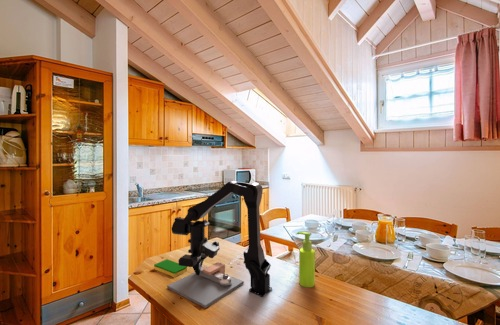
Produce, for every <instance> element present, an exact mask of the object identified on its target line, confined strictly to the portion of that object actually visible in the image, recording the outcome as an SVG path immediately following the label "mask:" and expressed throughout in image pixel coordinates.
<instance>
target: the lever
mask: <svg viewBox="0 0 500 325" xmlns="http://www.w3.org/2000/svg"><path fill="white" fill-rule="evenodd" d="M205 267H206V266H203V265H202V267H201V271H200V274H199V275H200V276H202V277H205V278H207V279H210V280H212V281H214V282H217V283H219V285H220V286H222V287H228V286H231V285H232V277H233V276H232V275H230V274H228V273H225V274H221V273H218V272H214V273H212V274H210V275H209V274H206V273H204V272H203V269H205ZM195 274H196V273H195Z"/></svg>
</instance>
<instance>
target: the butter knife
mask: <svg viewBox="0 0 500 325" xmlns="http://www.w3.org/2000/svg"><path fill="white" fill-rule="evenodd" d="M241 256H242V257H244V254H243V253H240V254H238V255H237V256H235V257H234V259H232V261H230V262H229V265H233V263H235V262H236V261H237V259H238V260H239V259H240V258H242V257H241Z"/></svg>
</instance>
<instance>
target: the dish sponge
mask: <svg viewBox="0 0 500 325" xmlns="http://www.w3.org/2000/svg"><path fill="white" fill-rule="evenodd" d="M153 268H154V269H153V270H155V271H158V272H160V273H163V274H165V275H168V276H170V277H173V278H176V277H179V276H180V275H182V274H185V273H186V272H188V267H187V266H180V265H179V262H176V261H173V260H170V259H168V258H166V259H164V260H162V261H160V262H157V263H154V265H153Z"/></svg>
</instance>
